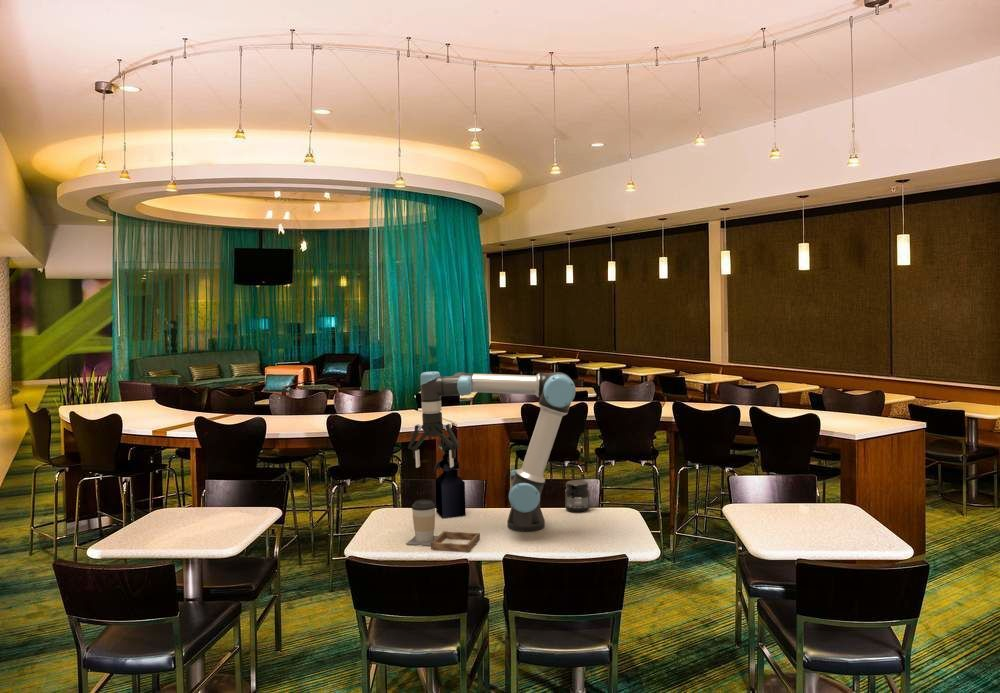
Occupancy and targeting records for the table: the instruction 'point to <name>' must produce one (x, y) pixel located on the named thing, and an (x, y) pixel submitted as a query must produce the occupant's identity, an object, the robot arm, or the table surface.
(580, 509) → the supplement container
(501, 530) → the table surface
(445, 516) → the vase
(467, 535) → the wooden square frame
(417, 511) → the coffee cup
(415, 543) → the mat
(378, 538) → the table surface
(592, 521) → the table surface
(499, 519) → the table surface
